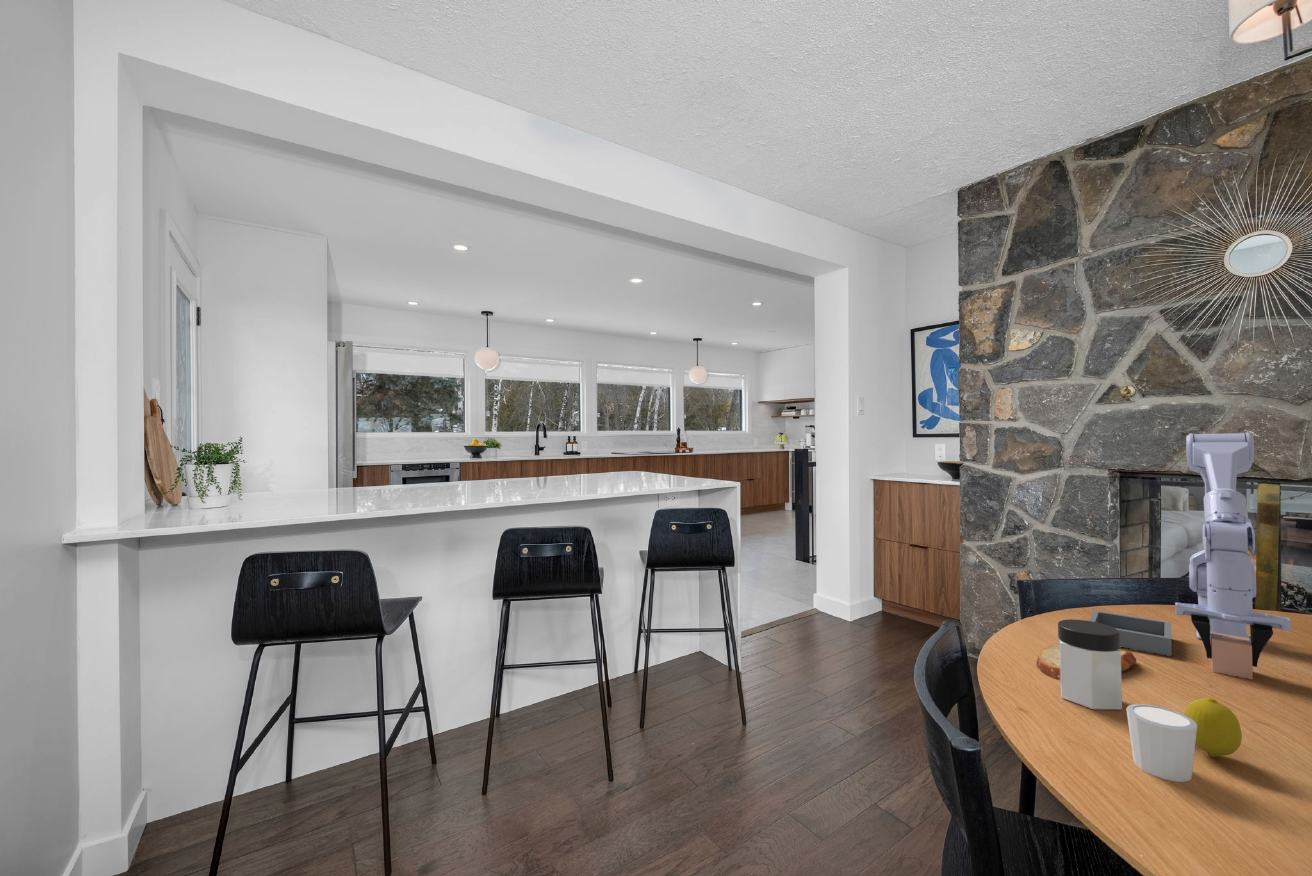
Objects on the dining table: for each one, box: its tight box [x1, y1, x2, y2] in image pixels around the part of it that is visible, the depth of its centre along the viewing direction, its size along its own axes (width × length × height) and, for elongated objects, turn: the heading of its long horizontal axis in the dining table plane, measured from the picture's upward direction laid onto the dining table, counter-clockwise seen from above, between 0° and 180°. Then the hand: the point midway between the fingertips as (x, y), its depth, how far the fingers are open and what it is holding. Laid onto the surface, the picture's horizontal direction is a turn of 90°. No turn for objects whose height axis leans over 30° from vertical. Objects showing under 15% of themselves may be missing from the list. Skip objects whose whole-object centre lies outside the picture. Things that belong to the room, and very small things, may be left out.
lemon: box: [1184, 697, 1243, 758], centre depth 74 cm, size 6×6×8 cm
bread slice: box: [1036, 642, 1137, 682], centre depth 104 cm, size 18×18×4 cm
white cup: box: [1125, 703, 1197, 783], centre depth 72 cm, size 7×7×7 cm
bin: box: [1088, 610, 1173, 657], centre depth 117 cm, size 13×13×4 cm
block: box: [1210, 632, 1254, 680], centre depth 100 cm, size 5×5×6 cm
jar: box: [1057, 618, 1123, 711], centre depth 91 cm, size 9×8×12 cm
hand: (1230, 660), depth 100 cm, fingers closed on block, 5 cm apart
